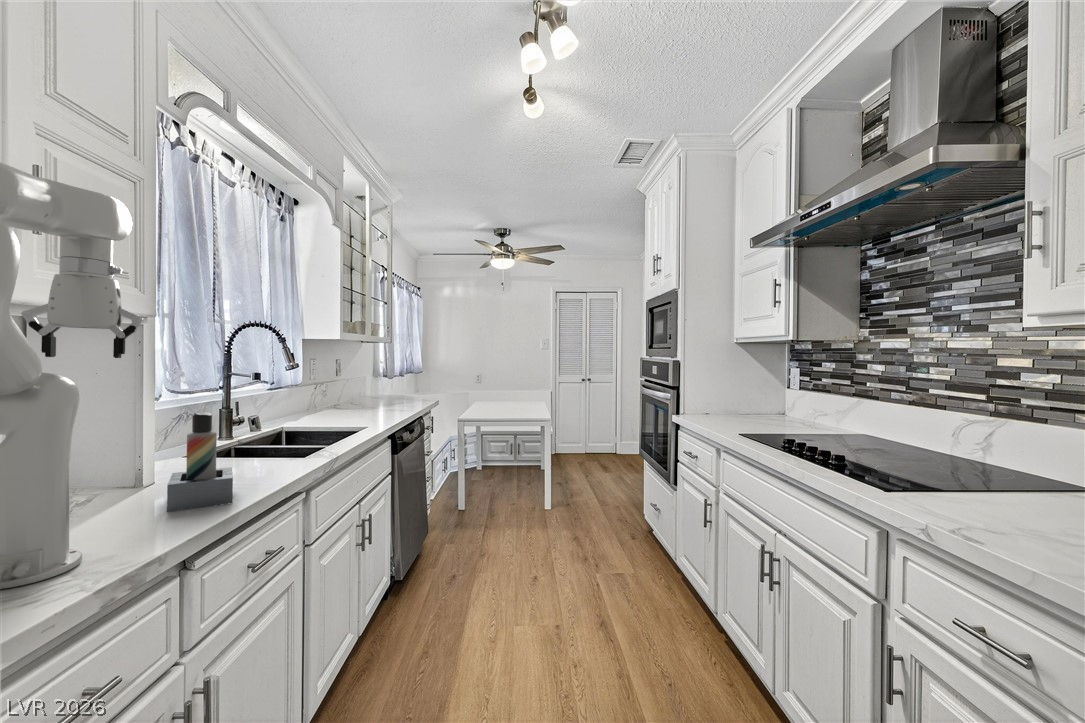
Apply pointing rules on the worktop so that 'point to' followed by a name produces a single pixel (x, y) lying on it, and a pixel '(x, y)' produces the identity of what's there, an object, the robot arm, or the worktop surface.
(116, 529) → the worktop surface
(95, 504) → the worktop surface
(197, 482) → the socket block
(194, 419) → the lotion bottle
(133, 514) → the worktop surface
